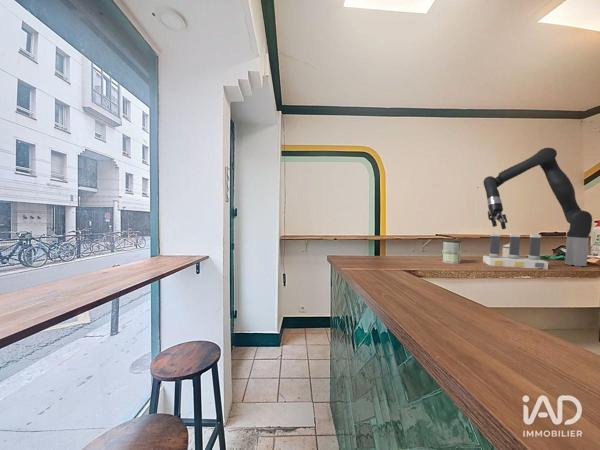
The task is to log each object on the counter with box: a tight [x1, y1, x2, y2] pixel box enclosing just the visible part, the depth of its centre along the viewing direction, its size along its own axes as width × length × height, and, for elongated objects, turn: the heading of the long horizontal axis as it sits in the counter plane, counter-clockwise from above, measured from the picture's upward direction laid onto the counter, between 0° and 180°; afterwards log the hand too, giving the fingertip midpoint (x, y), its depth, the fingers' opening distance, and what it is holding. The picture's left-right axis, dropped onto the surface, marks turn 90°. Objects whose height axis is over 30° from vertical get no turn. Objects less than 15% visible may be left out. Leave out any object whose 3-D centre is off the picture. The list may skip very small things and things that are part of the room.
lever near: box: [527, 233, 542, 260], centre depth 158 cm, size 5×2×15 cm, turn 73°
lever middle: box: [508, 233, 521, 259], centre depth 161 cm, size 5×2×15 cm, turn 73°
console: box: [482, 255, 549, 270], centre depth 161 cm, size 28×12×4 cm, turn 73°
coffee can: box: [441, 238, 462, 264], centre depth 170 cm, size 10×10×14 cm
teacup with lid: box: [501, 241, 510, 257], centre depth 181 cm, size 12×9×12 cm
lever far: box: [488, 232, 502, 258], centre depth 164 cm, size 5×2×15 cm, turn 73°
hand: (499, 227), depth 172 cm, fingers open, 8 cm apart
